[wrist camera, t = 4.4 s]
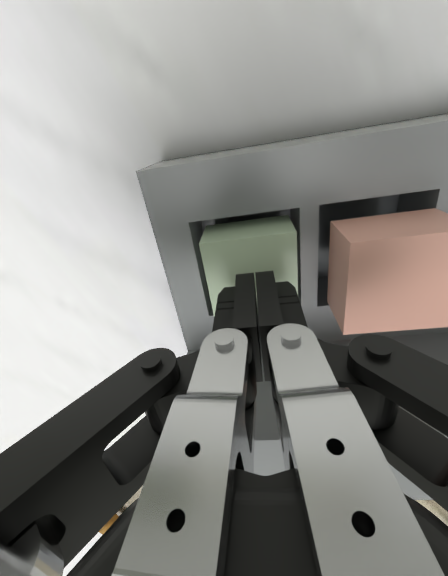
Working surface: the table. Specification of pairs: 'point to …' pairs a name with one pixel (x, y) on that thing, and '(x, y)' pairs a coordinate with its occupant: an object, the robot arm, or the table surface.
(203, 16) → the table surface
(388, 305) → the key coral
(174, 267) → the keypad
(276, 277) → the key sage
